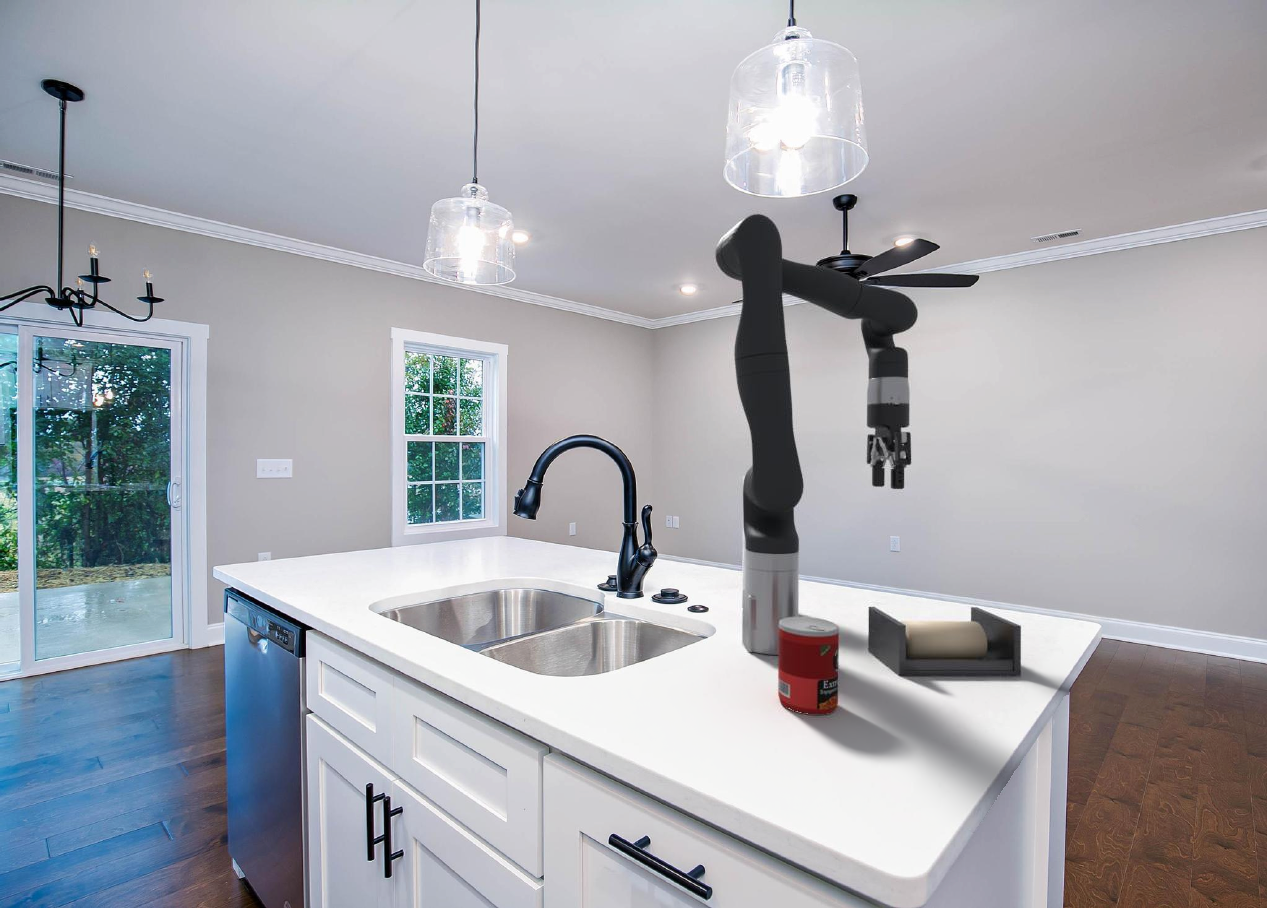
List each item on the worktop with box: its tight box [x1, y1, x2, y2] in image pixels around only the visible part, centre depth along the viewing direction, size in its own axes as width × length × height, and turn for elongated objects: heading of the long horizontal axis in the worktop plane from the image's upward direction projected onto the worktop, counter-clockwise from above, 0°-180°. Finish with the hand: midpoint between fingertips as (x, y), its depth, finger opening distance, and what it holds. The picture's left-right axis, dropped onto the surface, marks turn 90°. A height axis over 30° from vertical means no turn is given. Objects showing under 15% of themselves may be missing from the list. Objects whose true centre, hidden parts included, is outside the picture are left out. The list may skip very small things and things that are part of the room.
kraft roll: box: [900, 620, 987, 659], centre depth 102 cm, size 14×6×6 cm, turn 91°
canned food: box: [777, 616, 840, 715], centre depth 84 cm, size 8×8×11 cm
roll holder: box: [867, 606, 1022, 677], centre depth 101 cm, size 19×12×8 cm, turn 91°
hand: (887, 487), depth 118 cm, fingers open, 8 cm apart
